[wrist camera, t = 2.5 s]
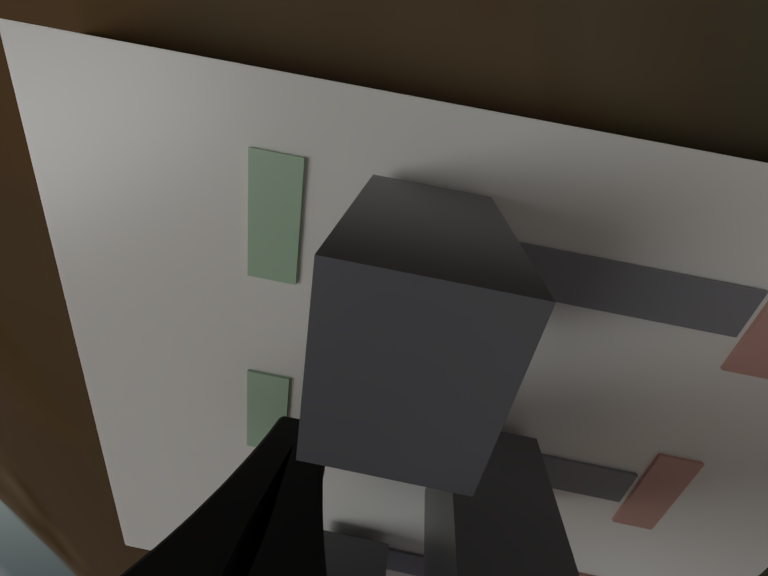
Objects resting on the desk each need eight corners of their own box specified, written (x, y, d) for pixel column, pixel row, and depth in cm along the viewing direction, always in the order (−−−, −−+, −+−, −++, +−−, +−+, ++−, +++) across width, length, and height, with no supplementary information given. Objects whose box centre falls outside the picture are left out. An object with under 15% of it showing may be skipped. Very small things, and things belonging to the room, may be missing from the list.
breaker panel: (637, 601, 17) (663, 663, 15) (156, 499, 18) (123, 547, 16) (1000, 206, 9) (1152, 235, 7) (79, 32, 9) (-9, 16, 7)
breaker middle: (502, 507, 12) (539, 714, 8) (424, 491, 12) (422, 689, 8) (536, 438, 10) (601, 646, 6) (448, 420, 10) (459, 616, 6)
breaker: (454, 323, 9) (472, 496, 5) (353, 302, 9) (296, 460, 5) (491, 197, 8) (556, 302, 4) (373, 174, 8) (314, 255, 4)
